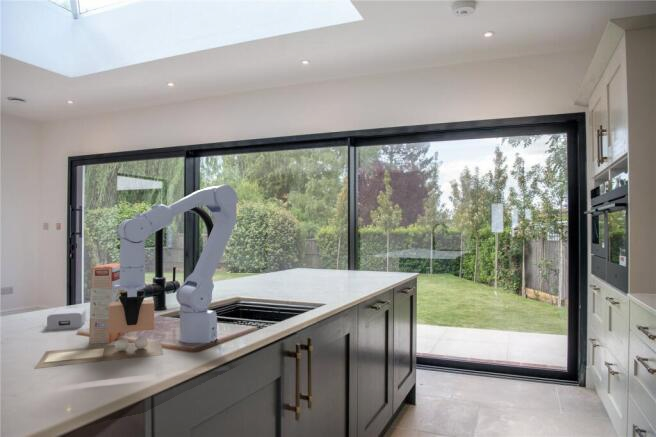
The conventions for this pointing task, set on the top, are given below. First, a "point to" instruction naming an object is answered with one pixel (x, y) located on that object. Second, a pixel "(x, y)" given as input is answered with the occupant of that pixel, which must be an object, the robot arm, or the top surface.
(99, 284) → the cracker box
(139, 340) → the marble
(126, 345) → the marble
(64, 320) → the charger
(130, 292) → the robot arm
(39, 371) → the top surface
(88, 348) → the walnut board
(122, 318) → the terracotta cover
